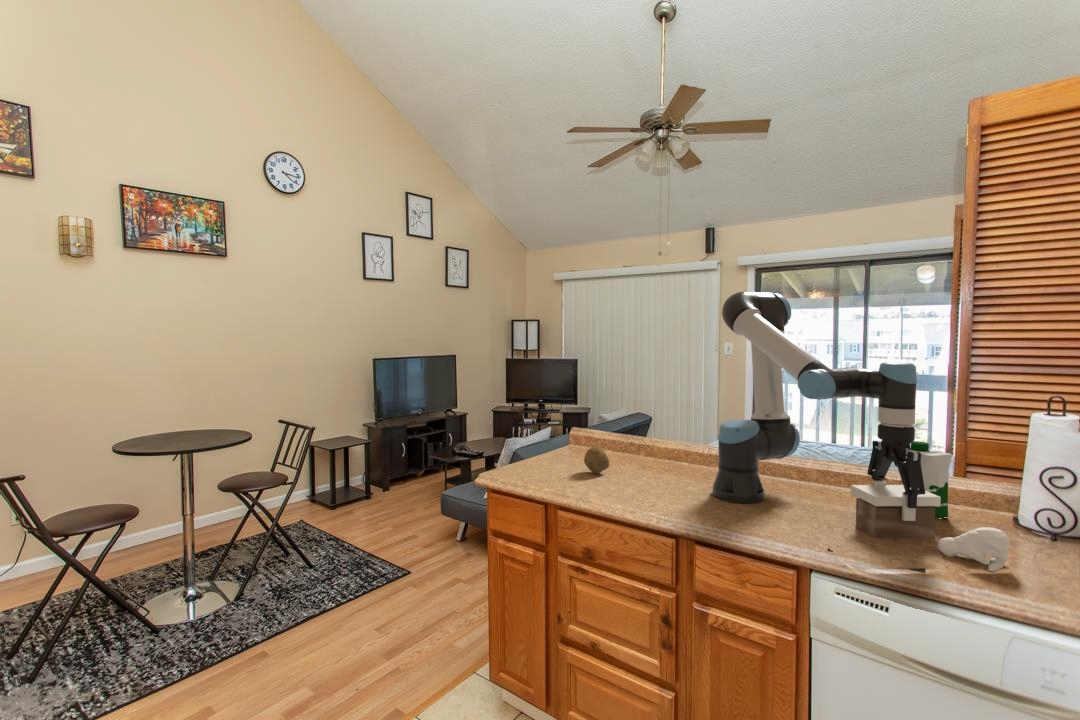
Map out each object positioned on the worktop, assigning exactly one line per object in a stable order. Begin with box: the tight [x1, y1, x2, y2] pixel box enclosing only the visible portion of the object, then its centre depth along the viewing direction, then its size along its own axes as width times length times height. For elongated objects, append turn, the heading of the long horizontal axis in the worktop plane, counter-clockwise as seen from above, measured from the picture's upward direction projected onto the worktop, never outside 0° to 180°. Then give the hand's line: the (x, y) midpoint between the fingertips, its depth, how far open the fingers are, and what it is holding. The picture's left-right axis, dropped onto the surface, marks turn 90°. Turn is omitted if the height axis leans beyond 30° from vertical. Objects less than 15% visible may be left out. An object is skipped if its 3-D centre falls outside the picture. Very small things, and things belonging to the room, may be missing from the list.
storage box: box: [855, 497, 936, 539], centre depth 124 cm, size 8×14×8 cm, turn 89°
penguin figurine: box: [937, 526, 1011, 573], centre depth 108 cm, size 6×8×12 cm
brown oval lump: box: [583, 446, 610, 475], centre depth 182 cm, size 9×9×10 cm
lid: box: [850, 484, 941, 507], centre depth 124 cm, size 10×16×3 cm, turn 89°
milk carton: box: [910, 440, 953, 519], centre depth 136 cm, size 9×9×20 cm
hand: (893, 512), depth 124 cm, fingers closed on lid, 10 cm apart
